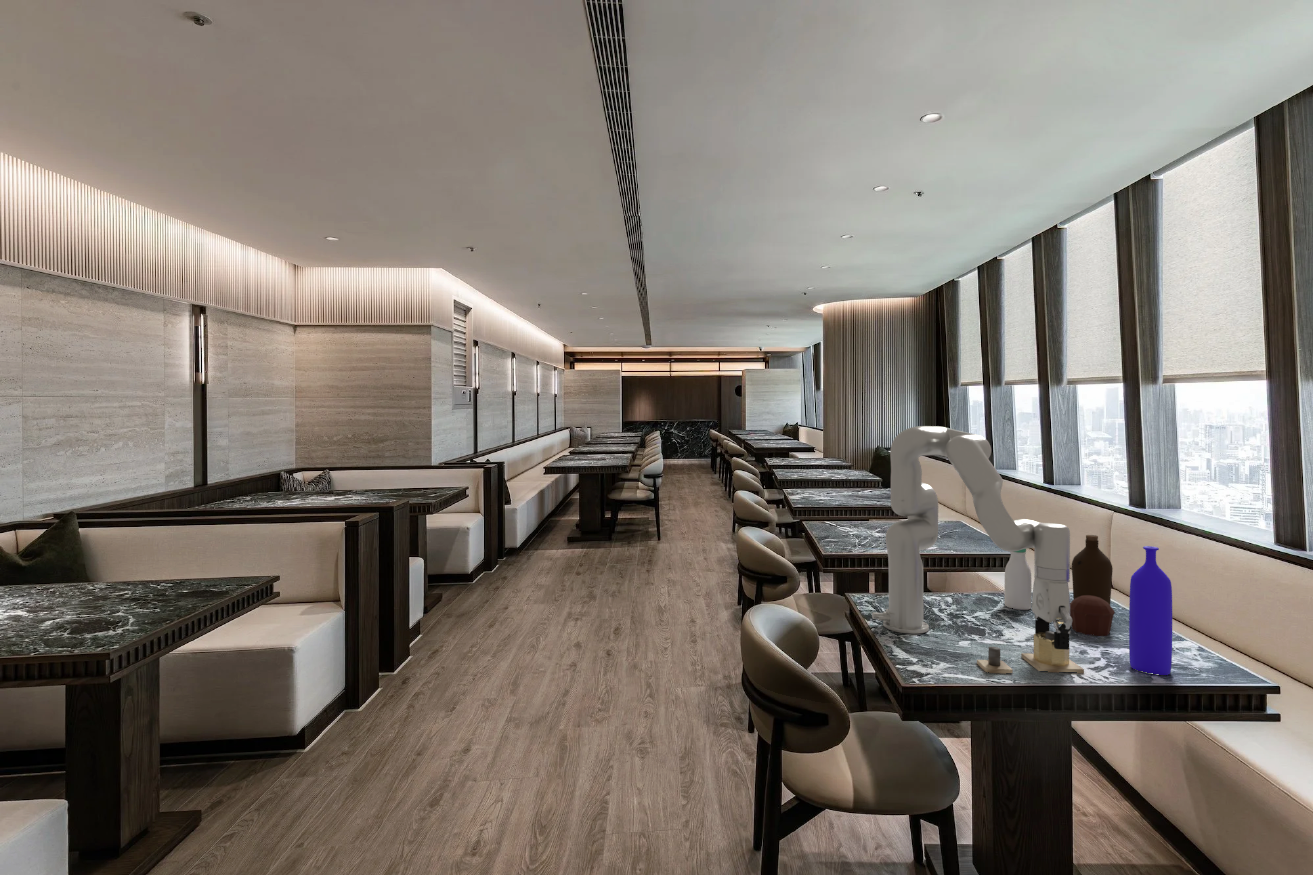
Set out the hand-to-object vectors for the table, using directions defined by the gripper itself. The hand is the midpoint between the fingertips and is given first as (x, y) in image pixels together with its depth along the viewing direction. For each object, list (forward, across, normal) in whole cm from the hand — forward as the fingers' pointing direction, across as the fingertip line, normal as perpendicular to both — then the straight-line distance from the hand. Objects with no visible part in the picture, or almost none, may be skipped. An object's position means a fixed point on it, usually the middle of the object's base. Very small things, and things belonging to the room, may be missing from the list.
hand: (1051, 642), depth 159 cm
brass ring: (+5, 0, 0) cm, 5 cm away
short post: (+6, +4, -15) cm, 17 cm away
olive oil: (+6, -46, +33) cm, 57 cm away
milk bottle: (+6, -53, +14) cm, 55 cm away
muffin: (+6, -29, +24) cm, 38 cm away
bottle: (+6, +1, +22) cm, 23 cm away
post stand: (+6, 0, 0) cm, 6 cm away
